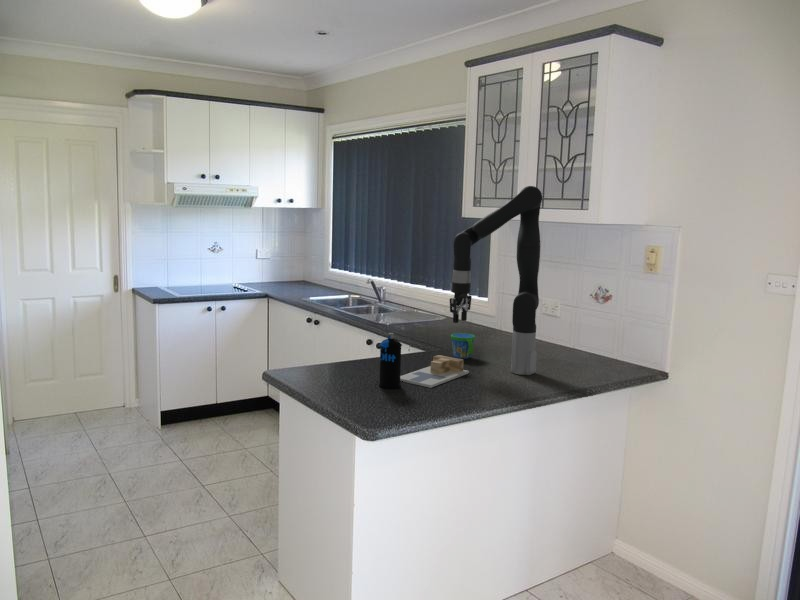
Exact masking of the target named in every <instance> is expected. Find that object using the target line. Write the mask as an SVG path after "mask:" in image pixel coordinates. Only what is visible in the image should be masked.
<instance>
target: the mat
mask: <svg viewBox="0 0 800 600" xmlns="http://www.w3.org/2000/svg"><path fill="white" fill-rule="evenodd" d="M430 370H431V365H429V366H427V367H423V368H420V369H418V370H415V371H411V372H409V373H406V374H403V375H400V382H402V381H403V383H407V384H411V385H416V386H421V387H425V388H430V389H431V388H434V387H436V386H439V385H441V384H444V383H447V382H450V381H452V380H455V379H457V378H460V377H462V376H465V375H467V374H469V373H470V371H469V370H465V369H463V371H460V372H454V371H447V372H445V373H442V374H434V373H430Z"/></svg>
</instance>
